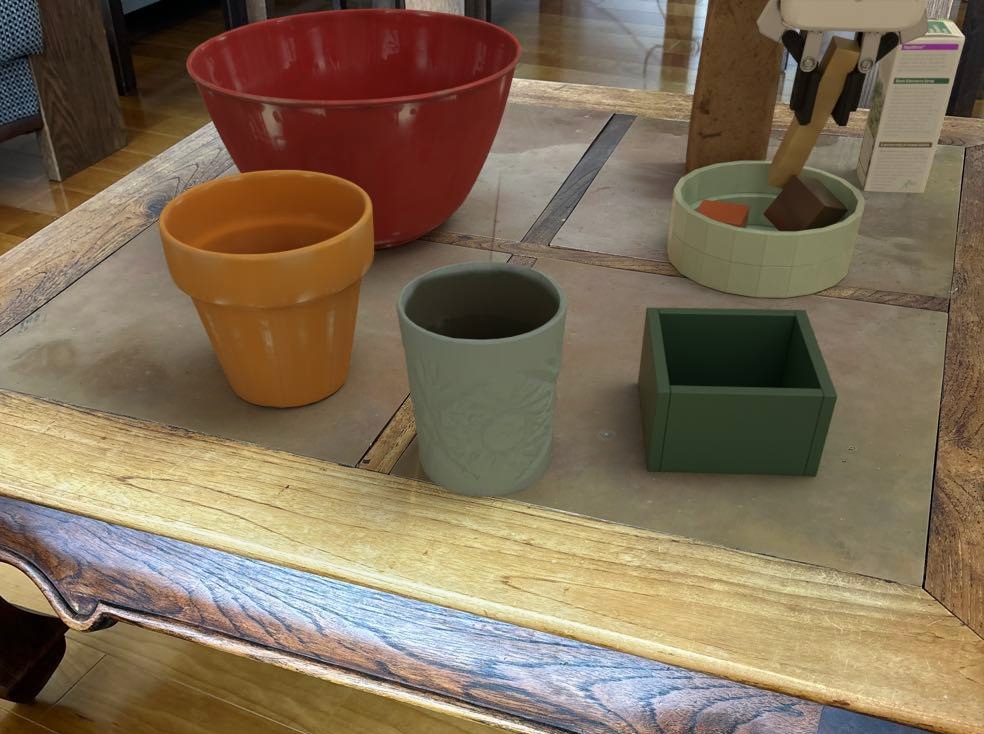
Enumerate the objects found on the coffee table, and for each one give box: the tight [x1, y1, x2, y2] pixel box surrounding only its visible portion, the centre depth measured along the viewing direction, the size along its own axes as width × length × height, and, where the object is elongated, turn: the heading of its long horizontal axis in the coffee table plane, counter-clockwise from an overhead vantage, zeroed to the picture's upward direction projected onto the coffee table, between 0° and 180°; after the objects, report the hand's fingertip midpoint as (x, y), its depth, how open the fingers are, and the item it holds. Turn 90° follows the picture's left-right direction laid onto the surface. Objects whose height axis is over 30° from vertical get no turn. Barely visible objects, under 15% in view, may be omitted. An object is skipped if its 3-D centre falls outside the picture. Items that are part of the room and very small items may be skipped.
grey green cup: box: [395, 261, 568, 498], centre depth 64 cm, size 10×10×12 cm
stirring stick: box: [767, 34, 860, 189], centre depth 82 cm, size 2×2×12 cm
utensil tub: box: [637, 307, 838, 478], centre depth 67 cm, size 11×11×7 cm
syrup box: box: [855, 17, 966, 194], centre depth 95 cm, size 6×6×14 cm
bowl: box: [666, 160, 866, 299], centre depth 87 cm, size 15×15×6 cm
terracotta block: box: [696, 199, 750, 228], centre depth 87 cm, size 4×4×4 cm
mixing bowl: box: [185, 8, 523, 250], centre depth 92 cm, size 28×28×15 cm
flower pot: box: [157, 170, 375, 408], centre depth 72 cm, size 14×14×13 cm
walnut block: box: [763, 175, 848, 232], centre depth 86 cm, size 4×4×4 cm
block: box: [684, 0, 787, 176], centre depth 95 cm, size 11×8×20 cm
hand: (820, 118), depth 81 cm, fingers closed on stirring stick, 2 cm apart
